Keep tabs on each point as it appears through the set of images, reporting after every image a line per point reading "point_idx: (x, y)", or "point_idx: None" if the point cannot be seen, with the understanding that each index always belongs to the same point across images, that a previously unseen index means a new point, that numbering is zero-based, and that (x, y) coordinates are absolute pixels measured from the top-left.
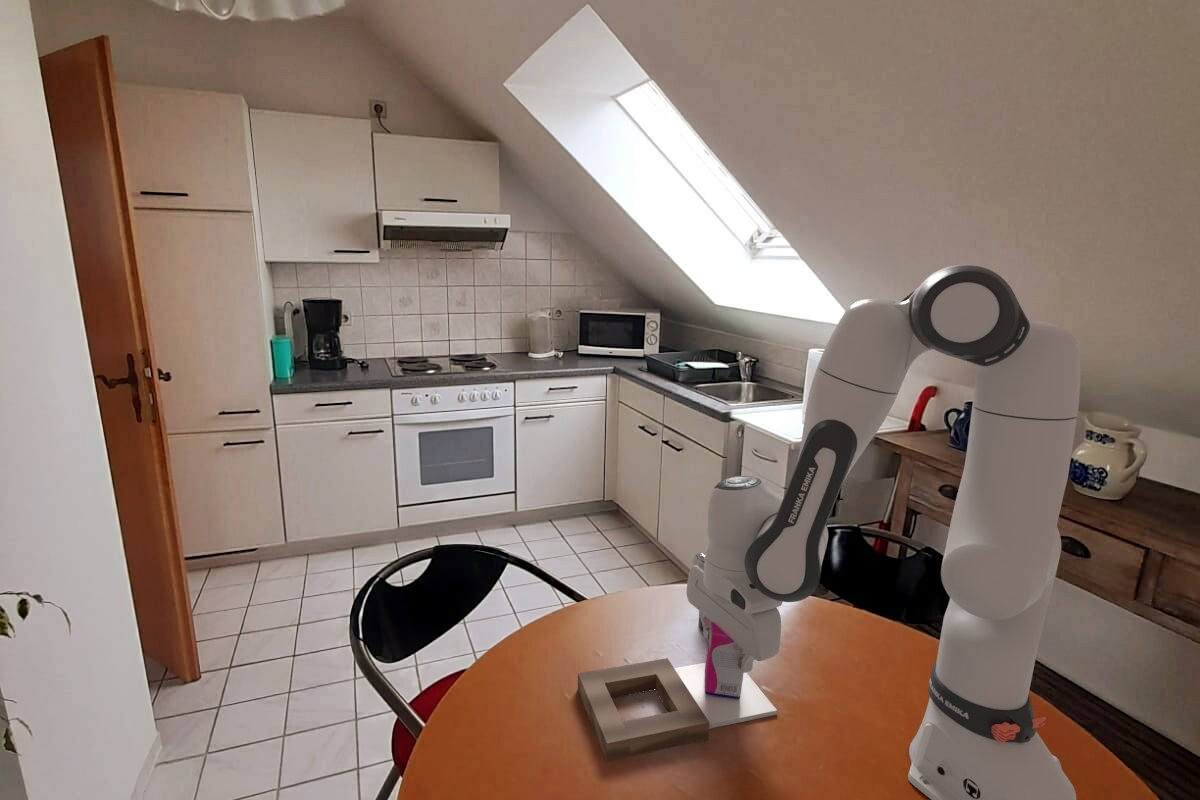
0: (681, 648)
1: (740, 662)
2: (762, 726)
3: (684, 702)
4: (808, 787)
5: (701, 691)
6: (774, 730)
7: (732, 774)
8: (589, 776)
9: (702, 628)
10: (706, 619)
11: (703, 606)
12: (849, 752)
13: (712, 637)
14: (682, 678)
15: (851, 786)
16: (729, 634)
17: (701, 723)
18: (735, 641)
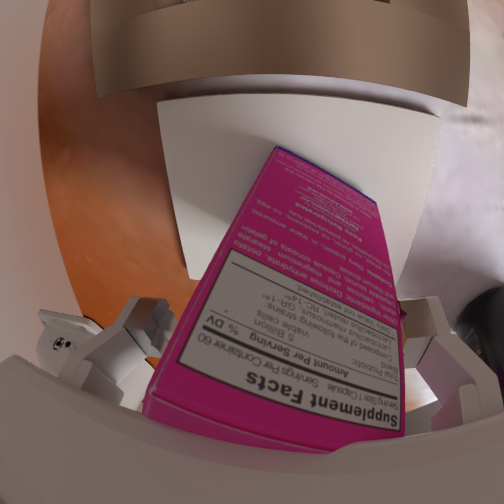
0: (495, 209)
1: (134, 320)
2: (162, 228)
3: (186, 37)
4: (55, 221)
5: (303, 142)
6: (152, 243)
7: (58, 116)
8: None
9: (500, 290)
10: (454, 381)
11: (456, 496)
12: (118, 303)
13: (163, 362)
14: (386, 118)
15: (69, 268)
16: (115, 427)
17: (94, 74)
18: (82, 398)
